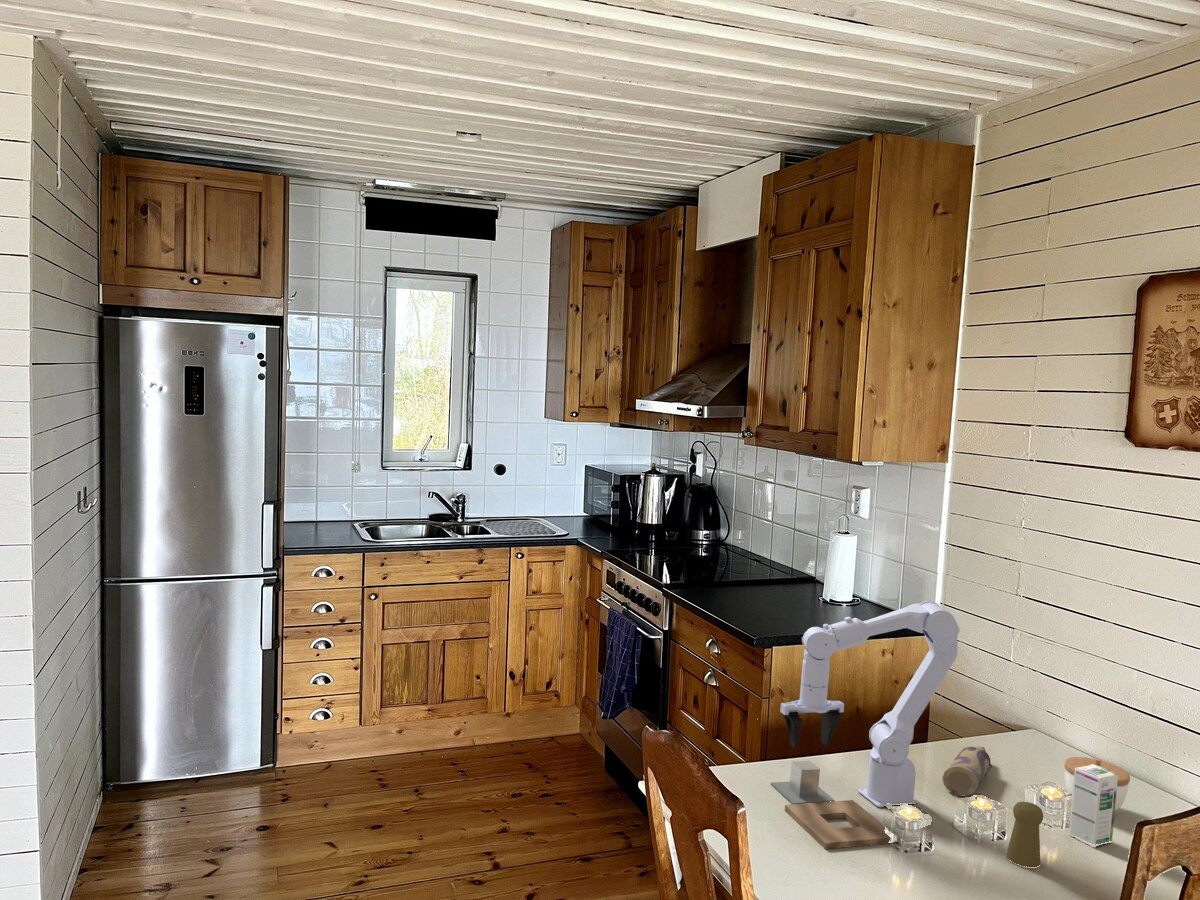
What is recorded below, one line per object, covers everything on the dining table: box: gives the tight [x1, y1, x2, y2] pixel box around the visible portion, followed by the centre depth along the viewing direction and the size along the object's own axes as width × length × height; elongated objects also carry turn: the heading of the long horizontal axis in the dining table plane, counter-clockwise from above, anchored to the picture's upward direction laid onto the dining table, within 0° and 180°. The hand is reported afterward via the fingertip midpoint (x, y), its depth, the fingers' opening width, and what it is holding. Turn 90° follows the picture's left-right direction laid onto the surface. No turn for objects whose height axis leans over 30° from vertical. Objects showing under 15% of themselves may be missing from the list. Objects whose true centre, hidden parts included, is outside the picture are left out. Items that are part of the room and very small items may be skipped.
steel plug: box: [789, 760, 821, 797], centre depth 195 cm, size 4×4×6 cm
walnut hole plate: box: [784, 799, 890, 850], centre depth 181 cm, size 16×16×1 cm
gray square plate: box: [770, 781, 836, 804], centre depth 196 cm, size 10×10×1 cm
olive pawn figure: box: [1005, 801, 1044, 867], centre depth 172 cm, size 6×6×11 cm
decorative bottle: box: [941, 745, 993, 796], centre depth 211 cm, size 26×8×7 cm, turn 146°
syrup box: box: [1068, 764, 1118, 845], centre depth 183 cm, size 6×6×14 cm
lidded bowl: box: [1063, 756, 1131, 811], centre depth 198 cm, size 13×13×11 cm
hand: (809, 744), depth 196 cm, fingers open, 7 cm apart
